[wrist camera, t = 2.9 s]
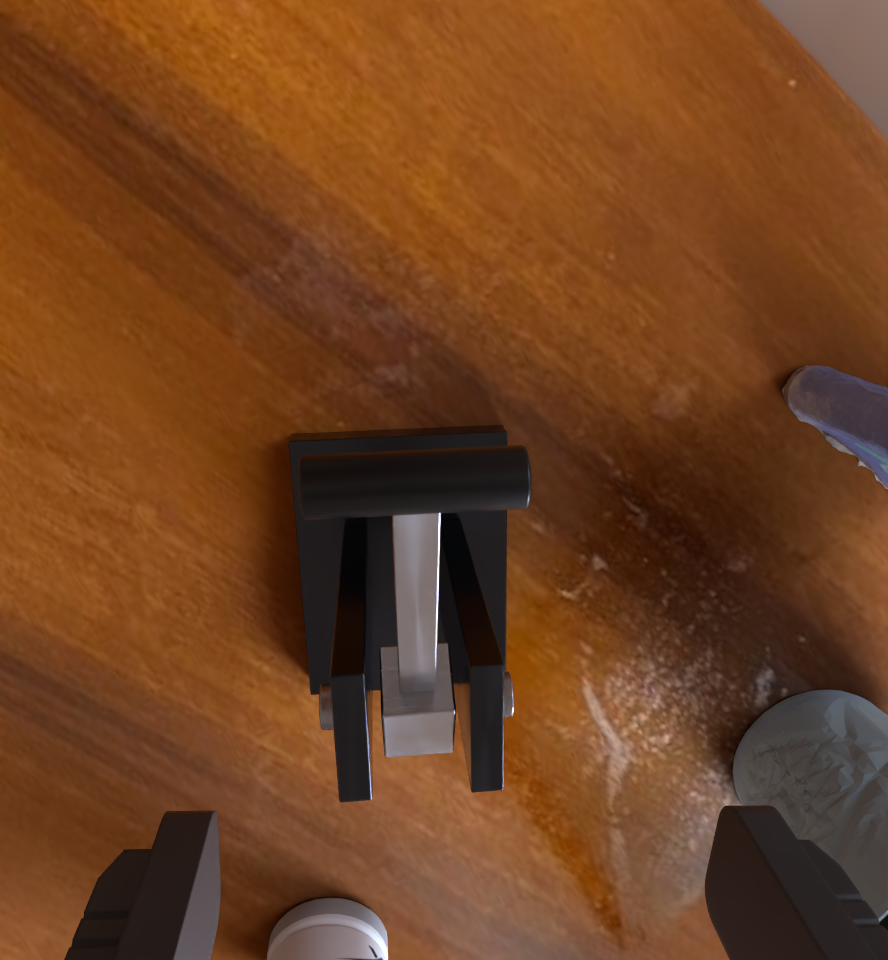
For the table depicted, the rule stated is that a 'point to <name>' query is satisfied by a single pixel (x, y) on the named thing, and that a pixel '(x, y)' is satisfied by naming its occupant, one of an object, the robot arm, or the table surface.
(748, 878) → the robot arm
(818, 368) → the blue squeeze pouch
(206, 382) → the table surface
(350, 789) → the bracket
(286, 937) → the travel mug
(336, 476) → the lever
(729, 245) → the table surface
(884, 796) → the grey hollow tapered cylinder
